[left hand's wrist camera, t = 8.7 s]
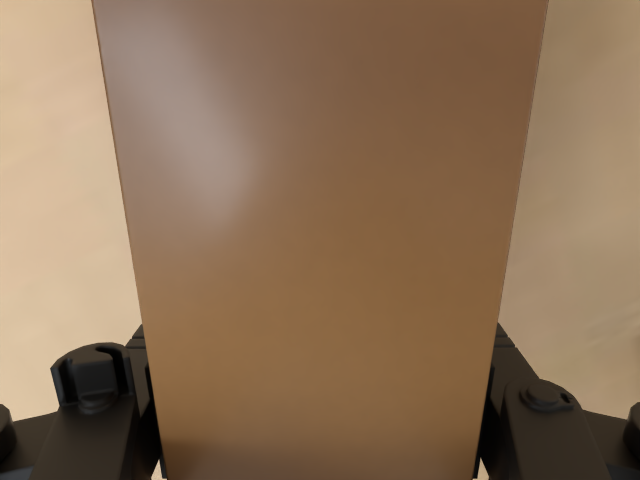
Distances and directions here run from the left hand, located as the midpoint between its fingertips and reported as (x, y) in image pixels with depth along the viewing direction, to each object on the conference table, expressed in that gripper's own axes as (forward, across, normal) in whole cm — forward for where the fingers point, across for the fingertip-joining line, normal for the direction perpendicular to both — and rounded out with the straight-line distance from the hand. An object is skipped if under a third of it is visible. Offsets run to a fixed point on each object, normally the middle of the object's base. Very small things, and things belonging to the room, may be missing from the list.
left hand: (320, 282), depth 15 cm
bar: (+1, 0, -20) cm, 20 cm away
